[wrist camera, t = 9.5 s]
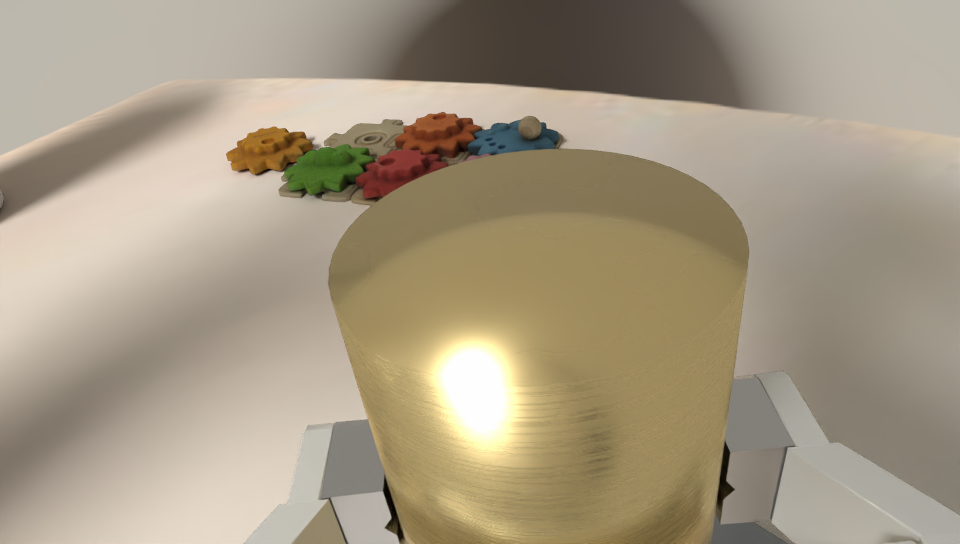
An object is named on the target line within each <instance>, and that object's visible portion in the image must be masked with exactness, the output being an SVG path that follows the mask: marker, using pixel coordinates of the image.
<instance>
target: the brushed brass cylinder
mask: <svg viewBox="0 0 960 544" xmlns="http://www.w3.org/2000/svg"><path fill="white" fill-rule="evenodd" d="M748 259H749V248H748V241H747V236H746V233H745V231H744V228H743V226H742V223H741V221H740V220H739V218H738V217H737V215H736V214H735V212H734V211H733V209H732V208H731V207H730V206H729V205H728V204H727V203H726V202H725V201H724V200H723V199H722V198H721V197H720V196H719V195H718V194H717V193H715V192H714V191H713V190H711V189H710V188H709V187H707V186H706V185H705V184H703V183H701V182H699V181H698V180H696V179H694V178H692V177H691V176H689V175H687V174H684V173H682V172H680V171H678V170H675V169H673V168H671V167H668V166H665V165H662V164H659V163H656V162H653V161H649V160H646V159H642V158H638V157H634V156H629V155H623V154H618V153H612V152H603V151H594V150H579V149H543V150H527V151H519V152H511V153H503V154H498V155H492V156H487V157H482V158H478V159H473V160H469V161H465V162H462V163H458V164H455V165H452V166H449V167H445V168H442V169H440V170H437V171H434V172H432V173H429V174H426V175H424V176H422V177H420V178H418V179H415V180H413V181H411V182H409V183H407V184H405V185H403V186H401V187H400V188H398V189H396V190H394V191H392V192H391V193H389V194H388V195H386V196H385V197H383V198H382V199H380V200H379V201H377V202H376V203H374V204H373V205H372V206H371V207H370V208H368V209H367V210H366V211H365V212H364V213H362V214H361V215H360V216H359V217H358V218H357V219H356V220H355V222H354V223H353V224H352V225H351V226H350V227H349V228H348V230H347V231H346V232H345V234H344V235H343V237H342V238H341V239H340V241H339V243H338V245H337V247H336V249H335V251H334V253H333V256H332V260H331V264H330V267H329V289H330V294H331V299H332V303H333V306H334V309H335V312H336V316H337V319H338V322H339V326H340V329H341V332H342V335H343V339H344V342H345V345H346V349H347V352H348V355H349V358H350V362H351V365H352V368H353V372H354V375H355V378H356V381H357V385H358V388H359V391H360V395H361V398H362V401H363V404H364V408H365V411H366V414H367V418H368V421H369V424H370V427H371V431H372V434H373V437H374V441H375V444H376V447H377V450H378V454H379V457H380V460H381V463H382V467H383V470H384V473H385V477H386V480H387V483H388V486H389V490H390V493H391V496H392V500H393V503H394V506H395V509H396V513H397V516H398V519H399V523H400V526H401V529H402V532H403V536H404V539H405V542H406V544H711V541H712V534H713V526H714V518H715V511H716V503H717V496H718V488H719V481H720V473H721V465H722V458H723V450H724V443H725V435H726V427H727V420H728V412H729V405H730V397H731V390H732V382H733V374H734V367H735V359H736V352H737V344H738V336H739V329H740V321H741V314H742V306H743V299H744V291H745V283H746V276H747V268H748Z"/></svg>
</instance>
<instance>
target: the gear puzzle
mask: <svg viewBox="0 0 960 544" xmlns="http://www.w3.org/2000/svg"><path fill="white" fill-rule="evenodd" d="M402 124H403V122H402V120H388V119H385V120H383V121H382V124H362V123H360V124H357V125H355V126H353V127H352V128H351V129H350V130H348V131H347V132H346V133H345V134H341V135H340V134H337V133H334V134H333V135H331V136H330V137H329V138H328V139H327V140H325V141H324V145H325V146H330V147H324V148H320V149H318V150H311V149H312V148H313V144H312V142H311V141H310V140H307V139H306V135H305V133H304V132H291V133H289V132H288V131H287V129H285V128H282V129H278V128H277V127H271V128H268V129H263V128H262V129H259V130H258V131H257V132H254V133H249V134H248V135H247V138H245V139H243V140H241V141H238V142H237V146H238V147H237V148H234V149H233V150H231V151H229V152H228V153H227V154H226V156H227V159H228V161H231V166H232V170H233V171H237V170H244V169H248V168H249V170H250V172H251V174H257V173H260V172H262V171H264V170H265V169H273V170H277V171H282V170H283V169H284V168H285V167H286V164H287V163H289V162H297V164H296V165H294V166H292V167H290V168H288V169H287V170H285V172H284V175H283V176H282V177H281V179H282V181H288V182H287V183H285V184H284V185H283V186H282V187H281V188H280V189H279V194H280V196H283V197H293V198H302V197H303V195H304V193H306V192H308V194H309V195H314V194H316V193H319V192H325V194H323V195H322V199H323V200H324V201H334V202H345V201H349V200H351V201H352V203H355V204H362V205H373V204H374V203H376V202H377V201H378V200H380V199H382V198H383V197H385V196H386V195H388V194H389V193H391V192H392V191H394V190H396V189H398V188H400V187H401V186H403V185H405V184H407V183H409V182H411V181H413V180H415V179H418V178H420V177H422V176H424V175H426V174H429V173H432V172H434V171H437V170H440V169H442V168H445V167H449V166H452V165H455V164H458V163H462V162H465V161H469V160H473V159H478V158H482V157H487V156H492V155H498V154H503V153H511V152H519V151H527V150H543V149H558V147H559V146H560V144H561V142H562V140H563V138H562V135H561V134H559V133H558V132H557V131H554V130H551V129H547V128H546V123H544V122H542V123H540V121H539V120H538V119H537V118H535V117H533V116H527V117H524V118H523V119H522V120H518V121H514V122H512V123H510V124H505V123H496V124H493V125H492V127H491V129H488V130H484V129H482V128H481V127H480V126H477V125H473V120H472V119H471V118H458V117H457V115H456V114H446V113H445V112H441V113H438V114H428V115H427V116H425V117H422V118H418V119H417V120H416V123H414V124H413V125H410V126H403V125H402ZM309 150H310V151H309ZM306 151H308V152H307V153H306V154H305V155H303V153H304V152H306Z"/></svg>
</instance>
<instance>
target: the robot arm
mask: <svg viewBox="0 0 960 544" xmlns="http://www.w3.org/2000/svg"><path fill="white" fill-rule="evenodd" d="M715 512H716V515H717V517H718V520H719V522H720V525H721V524H733V523H745V522H757V521H770V520H772V522H771V523H772V524H773V525H774V526H776V527H777V528H778V529H779V530H780V531H781V532H782V533H783V534H784V535H786V536H787V537H788V538H789V539H790V540H791V541H792V542H793V543H795V544H960V515H959V514H957V513H955V512H954V511H952V510H950V509H949V508H947V507H945V506H944V505H942V504H941V503H939V502H937V501H936V500H934V499H932V498H931V497H929V496H927V495H926V494H924V493H922V492H921V491H919V490H917V489H916V488H914V487H912V486H911V485H909V484H908V483H906V482H904V481H903V480H901V479H899V478H898V477H896V476H894V475H893V474H891V473H889V472H888V471H886V470H884V469H883V468H881V467H880V466H878V465H876V464H875V463H873V462H871V461H870V460H868V459H866V458H865V457H863V456H861V455H860V454H858V453H856V452H855V451H853V450H851V449H850V448H848V447H847V446H845V445H843V444H842V443H840V442H836V443H830V442H829V440H828V438H827V437H826V435H825V433H824V432H823V430H822V428H821V427H820V425H819V424H818V422H817V420H816V419H815V417H814V415H813V414H812V412H811V411H810V409H809V407H808V406H807V404H806V402H805V401H804V399H803V397H802V396H801V394H800V393H799V391H798V389H797V388H796V386H795V384H794V383H793V381H792V379H791V378H790V376H789V375H788V374H787V373H785V372H784V371H779V372H770V373H762V374H754V375H745V376H737V377H733V382H732V390H731V397H730V405H729V412H728V420H727V427H726V435H725V443H724V450H723V458H722V465H721V473H720V481H719V488H718V496H717V503H716V511H715ZM243 544H405V539H404V536H403V532H402V529H401V526H400V523H399V519H398V516H397V513H396V509H395V506H394V503H393V500H392V496H391V493H390V490H389V486H388V483H387V480H386V477H385V473H384V470H383V467H382V463H381V460H380V457H379V454H378V450H377V447H376V444H375V441H374V437H373V434H372V431H371V427H370V424H369V421H368V419H367V420H356V421H345V422H336V423H328V424H317V425H308V426H307V428H306V429H305V431H304V433H303V436H302V441H301V445H300V450H299V454H298V459H297V463H296V468H295V472H294V476H293V481H292V485H291V490H290V494H289V499H288V503H287V504H280V505H278V506H277V507H276V508H275V510H274V511H273V512H272V513H271V514H270V515H269V516H268V517H267V518H266V519H265V520H264V522H263V523H262V524H261V525H260V526H259V527H258V528H257V529H256V530H255V531H254V532H253V533H252V535H251V536H250V537H249V538H248V539H247V540H246V541H245V542H244V543H243Z"/></svg>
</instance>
